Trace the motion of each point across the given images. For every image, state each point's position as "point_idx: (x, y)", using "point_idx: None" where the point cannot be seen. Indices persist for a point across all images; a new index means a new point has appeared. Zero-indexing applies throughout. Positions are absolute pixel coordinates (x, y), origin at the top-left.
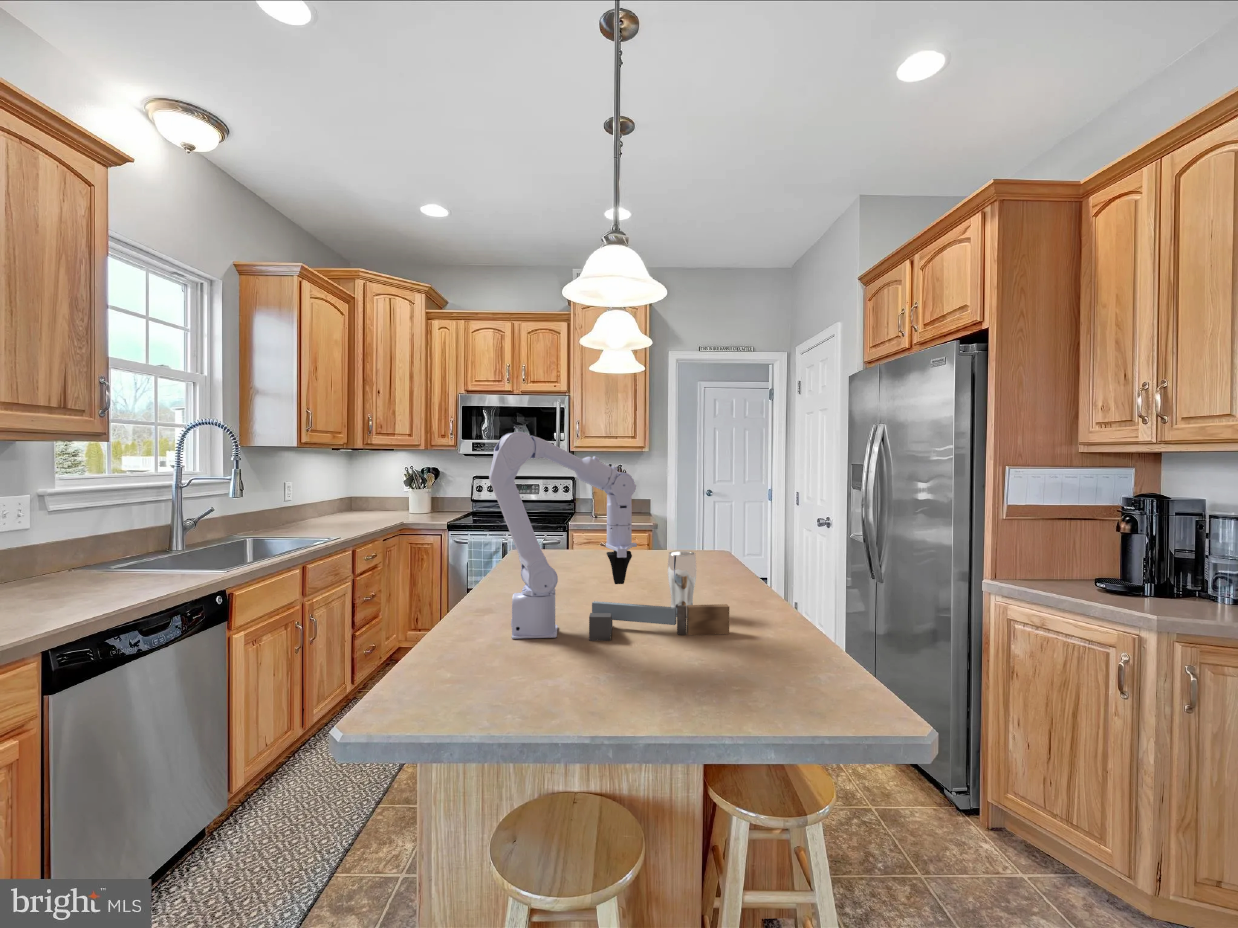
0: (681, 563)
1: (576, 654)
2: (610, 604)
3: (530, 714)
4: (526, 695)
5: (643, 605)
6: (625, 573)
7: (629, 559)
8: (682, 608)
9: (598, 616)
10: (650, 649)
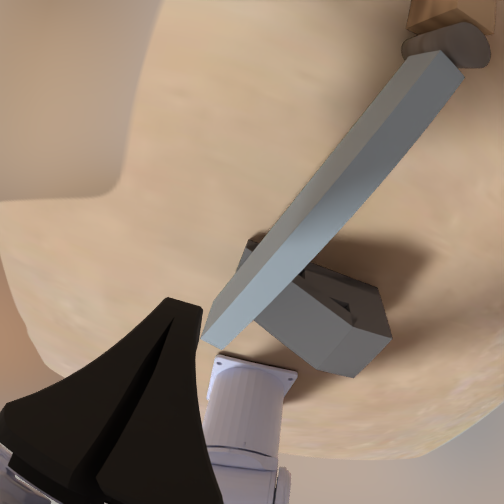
0: None
1: (407, 359)
2: (262, 309)
3: (495, 396)
4: (466, 402)
5: (344, 187)
6: (194, 361)
7: (216, 486)
8: (487, 58)
9: (365, 361)
10: (482, 222)
